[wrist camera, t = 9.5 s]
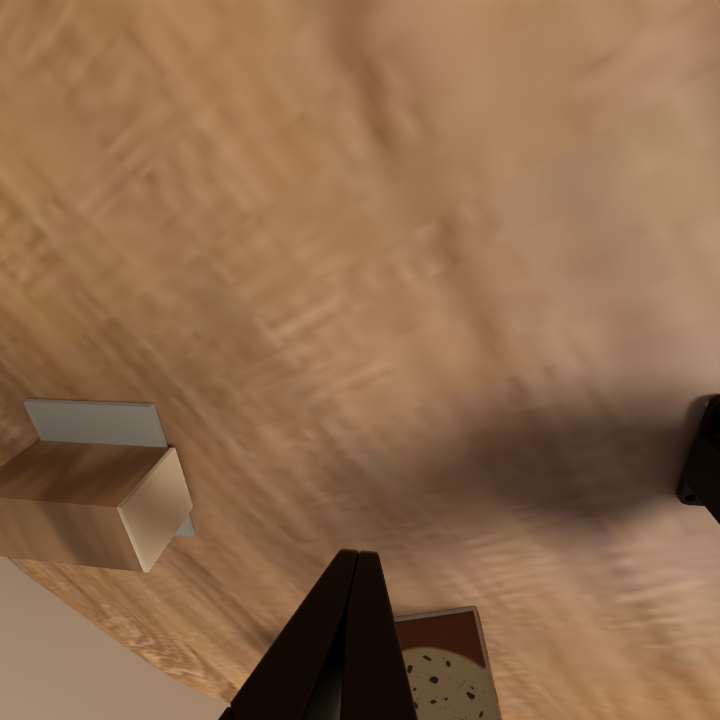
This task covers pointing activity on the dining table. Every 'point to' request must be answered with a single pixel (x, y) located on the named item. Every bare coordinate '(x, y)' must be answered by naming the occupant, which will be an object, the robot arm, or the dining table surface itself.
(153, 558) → the walnut block
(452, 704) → the food container
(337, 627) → the robot arm
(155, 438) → the mat
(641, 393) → the dining table surface
